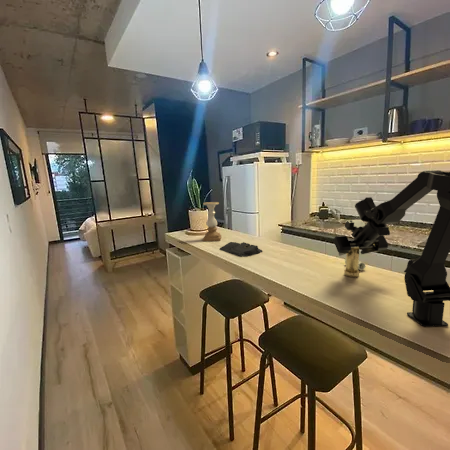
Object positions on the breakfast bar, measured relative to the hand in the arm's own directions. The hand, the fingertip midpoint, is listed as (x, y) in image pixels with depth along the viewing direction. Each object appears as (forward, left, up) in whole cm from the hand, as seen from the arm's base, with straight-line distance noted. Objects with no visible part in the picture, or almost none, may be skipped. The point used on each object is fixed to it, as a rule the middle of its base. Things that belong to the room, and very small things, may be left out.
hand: (350, 254), depth 104 cm
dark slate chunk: (+38, +41, -9) cm, 57 cm away
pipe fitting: (+7, -4, -9) cm, 12 cm away
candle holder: (+68, +58, -8) cm, 89 cm away
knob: (-2, 0, -8) cm, 8 cm away
